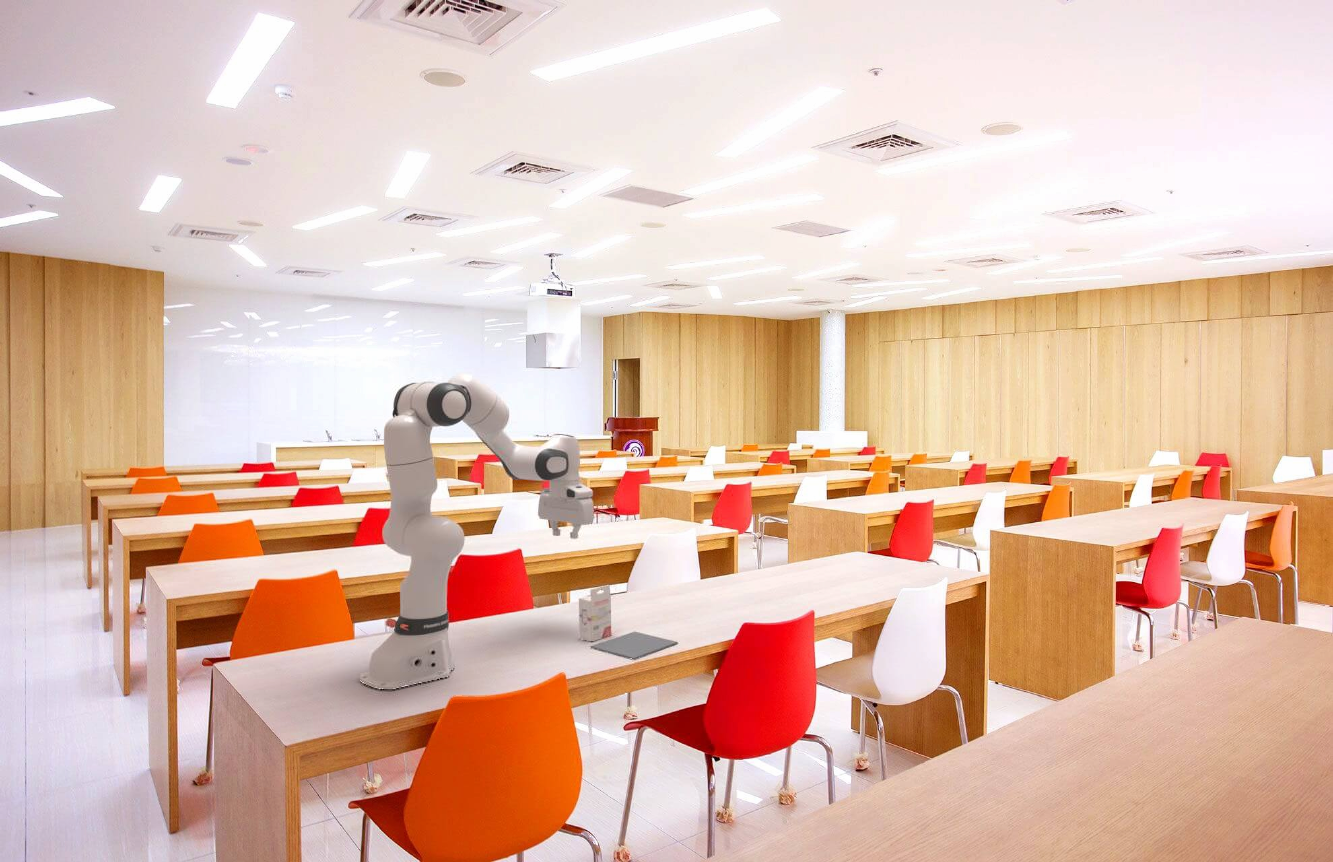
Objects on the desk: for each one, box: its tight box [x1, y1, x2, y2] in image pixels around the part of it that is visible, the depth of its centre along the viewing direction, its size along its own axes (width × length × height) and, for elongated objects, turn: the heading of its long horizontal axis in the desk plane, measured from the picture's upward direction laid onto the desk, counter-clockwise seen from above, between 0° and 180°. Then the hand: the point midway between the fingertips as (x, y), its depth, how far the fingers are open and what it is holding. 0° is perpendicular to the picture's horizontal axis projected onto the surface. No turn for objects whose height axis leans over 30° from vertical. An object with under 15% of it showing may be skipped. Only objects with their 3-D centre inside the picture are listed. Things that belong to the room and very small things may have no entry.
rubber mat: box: [589, 631, 679, 660], centre depth 222 cm, size 18×16×1 cm
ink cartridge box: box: [578, 584, 612, 642], centre depth 230 cm, size 9×5×15 cm, turn 143°
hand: (565, 537), depth 237 cm, fingers open, 6 cm apart
